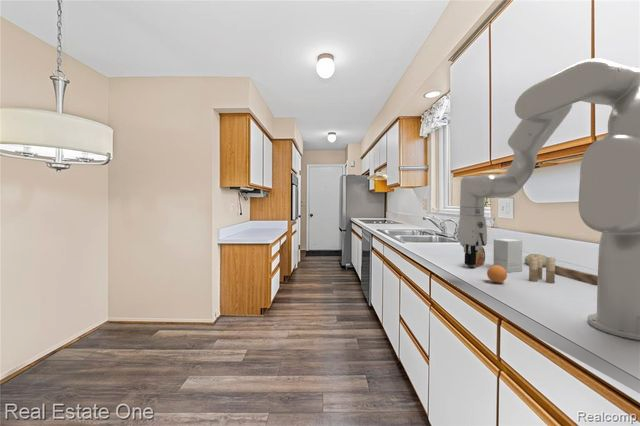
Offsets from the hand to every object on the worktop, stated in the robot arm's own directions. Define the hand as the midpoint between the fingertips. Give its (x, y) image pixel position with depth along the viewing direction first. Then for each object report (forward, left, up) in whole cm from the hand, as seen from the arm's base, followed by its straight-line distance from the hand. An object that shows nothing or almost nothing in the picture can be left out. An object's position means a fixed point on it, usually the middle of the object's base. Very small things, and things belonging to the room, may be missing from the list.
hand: (470, 264), depth 102 cm
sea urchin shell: (+21, -46, -7) cm, 51 cm away
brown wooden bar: (-1, -40, -7) cm, 41 cm away
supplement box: (+15, -27, -7) cm, 32 cm away
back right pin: (-3, -28, -7) cm, 29 cm away
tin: (+24, -18, -7) cm, 31 cm away
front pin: (-1, -24, -7) cm, 25 cm away
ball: (-1, -10, -4) cm, 10 cm away
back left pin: (+2, -28, -7) cm, 29 cm away
